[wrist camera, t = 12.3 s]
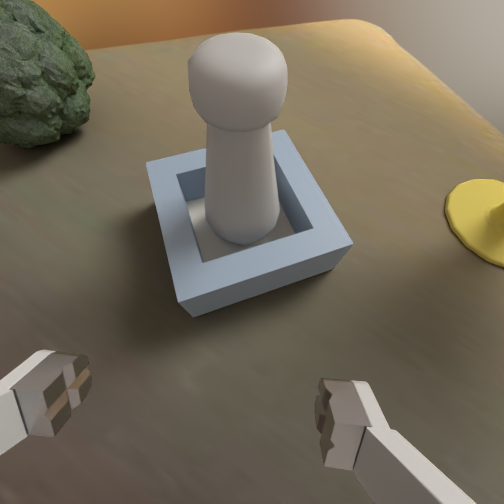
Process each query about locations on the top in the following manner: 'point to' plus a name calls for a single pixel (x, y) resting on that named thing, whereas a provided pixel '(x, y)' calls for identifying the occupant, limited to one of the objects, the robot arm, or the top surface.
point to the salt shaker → (239, 131)
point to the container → (234, 255)
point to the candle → (479, 217)
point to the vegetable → (39, 77)
